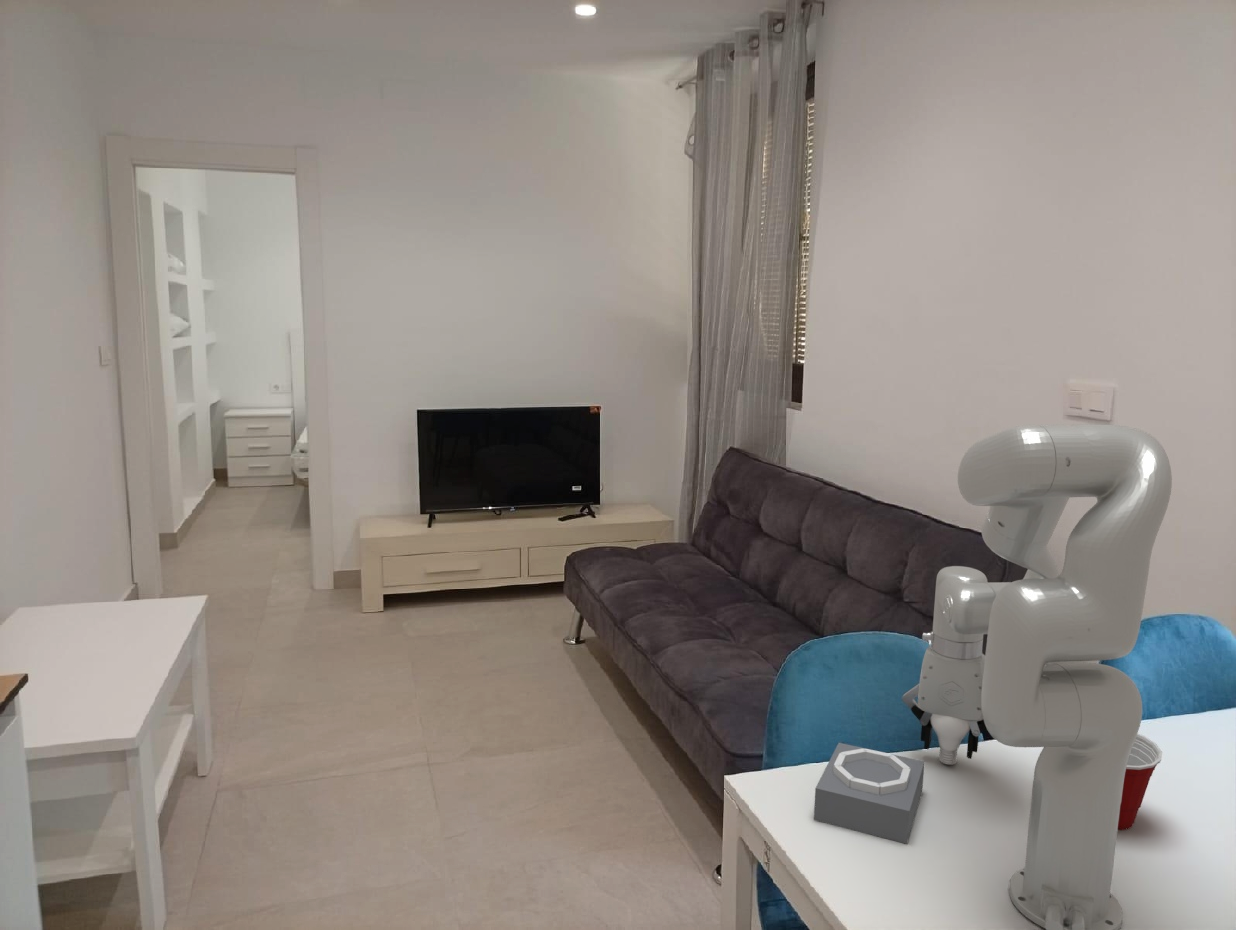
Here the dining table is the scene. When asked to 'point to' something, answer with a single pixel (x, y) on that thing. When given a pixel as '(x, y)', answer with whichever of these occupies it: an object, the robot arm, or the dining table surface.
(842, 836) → the dining table surface
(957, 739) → the lightbulb
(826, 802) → the octagon ring base plate
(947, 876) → the dining table surface
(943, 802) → the dining table surface
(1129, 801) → the plastic cup
